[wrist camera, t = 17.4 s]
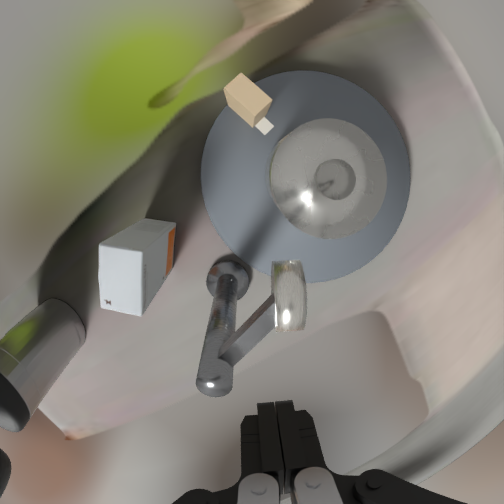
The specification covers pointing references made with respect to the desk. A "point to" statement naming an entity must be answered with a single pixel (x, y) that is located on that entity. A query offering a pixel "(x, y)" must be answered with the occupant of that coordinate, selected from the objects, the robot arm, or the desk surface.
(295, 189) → the cover
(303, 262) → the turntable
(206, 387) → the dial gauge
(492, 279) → the desk surface
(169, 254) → the skincare box
